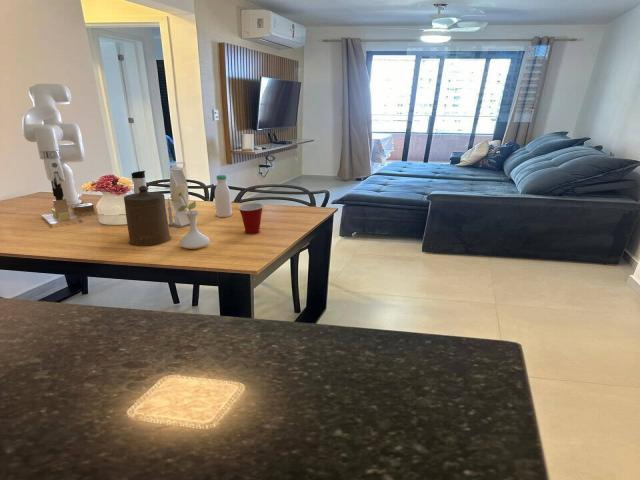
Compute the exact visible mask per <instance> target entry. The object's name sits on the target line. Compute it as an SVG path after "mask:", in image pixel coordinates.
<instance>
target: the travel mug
mask: <svg viewBox="0 0 640 480" xmlns="http://www.w3.org/2000/svg"><path fill="white" fill-rule="evenodd" d="M145 173H146V170H138V171H133V172H131V173H130V175H131V181H134V189H133V194H135V193H139V192H140V191H139V187H141V186H146V187H148V186H147V179H146V174H145Z"/></svg>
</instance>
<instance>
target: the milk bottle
mask: <svg viewBox="0 0 640 480" xmlns="http://www.w3.org/2000/svg"><path fill="white" fill-rule="evenodd" d="M216 181H217V183H216V186H215V189H214V207H215V216H216V217H219V218H227V217H228V218H229V217H232V215H233V209H232V194H231V189H230V187H229V186H228V183H227V175H225V174H218V175H216Z"/></svg>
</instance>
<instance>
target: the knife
mask: <svg viewBox="0 0 640 480" xmlns="http://www.w3.org/2000/svg"><path fill="white" fill-rule="evenodd" d="M53 188H54V186H53ZM54 197H55V196H54ZM52 203H53V209H54V208H55V212H56V217H57V218H58V213H65V212H68V213H69V211H70V210H69V207H68V206H69V205H68V206H67V201H66V199H63V197H57V198H56V197H55V199H53V200H52Z"/></svg>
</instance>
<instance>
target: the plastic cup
mask: <svg viewBox="0 0 640 480" xmlns="http://www.w3.org/2000/svg"><path fill="white" fill-rule="evenodd" d="M263 208H264V204H263V203H260V202H251V203H244V204H241V205H239V206H237V209H238V210H239V212H240V215H241V218H242V224H243V227H244V231H245V234H249V235H255V234H258V233H260V229H261V223H262V222H261V221H262V213H263Z"/></svg>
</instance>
